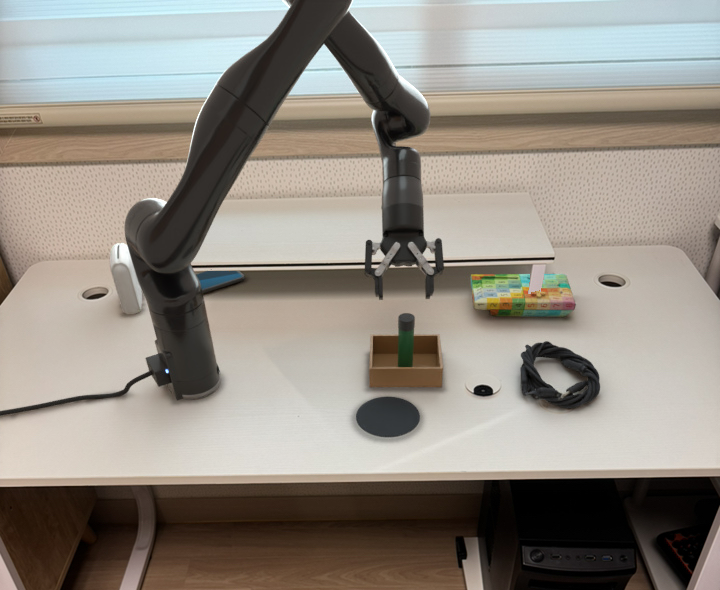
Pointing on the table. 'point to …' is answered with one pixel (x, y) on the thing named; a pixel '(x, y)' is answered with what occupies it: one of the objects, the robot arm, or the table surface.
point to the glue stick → (405, 339)
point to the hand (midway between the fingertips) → (404, 298)
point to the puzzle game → (522, 295)
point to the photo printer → (125, 279)
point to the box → (390, 375)
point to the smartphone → (218, 279)
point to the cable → (569, 360)
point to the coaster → (388, 417)
